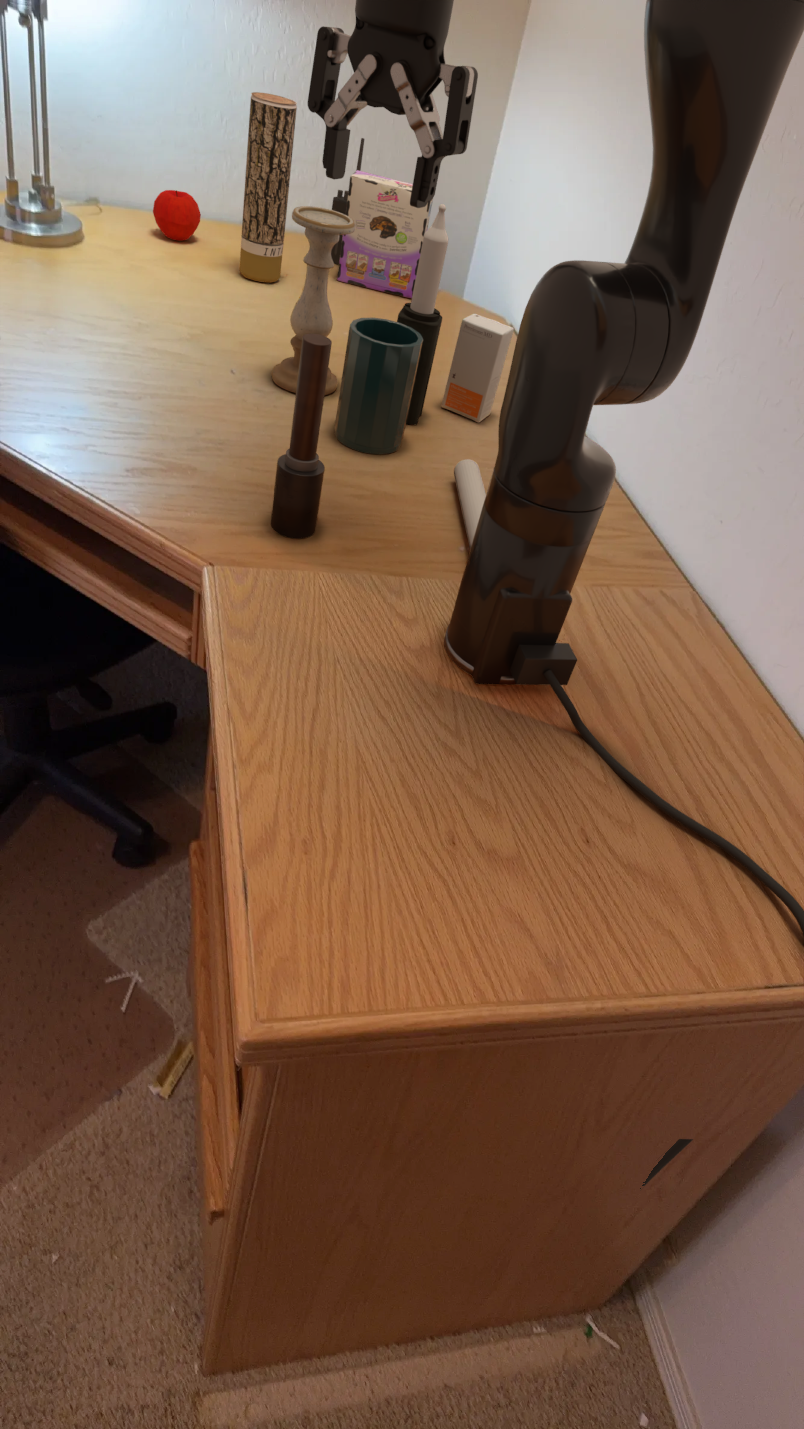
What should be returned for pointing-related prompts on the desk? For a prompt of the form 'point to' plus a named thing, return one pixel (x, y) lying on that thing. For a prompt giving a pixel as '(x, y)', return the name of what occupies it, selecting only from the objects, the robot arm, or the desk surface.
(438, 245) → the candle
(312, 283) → the candle holder
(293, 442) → the brush
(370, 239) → the candy box
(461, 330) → the cosmetic box
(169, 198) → the apple
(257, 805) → the desk surface
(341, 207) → the walkie-talkie
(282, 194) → the paper tube
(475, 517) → the tube
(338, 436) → the teal pencil cup
